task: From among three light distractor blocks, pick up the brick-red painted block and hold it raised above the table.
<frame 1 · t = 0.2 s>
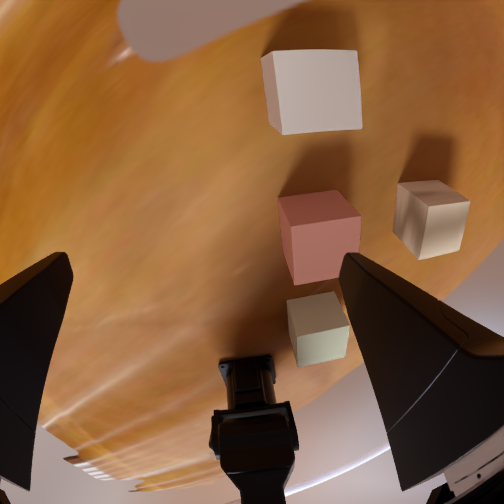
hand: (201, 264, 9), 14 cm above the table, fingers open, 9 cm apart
pale grey block: (298, 87, 19), on the table
ash block: (415, 205, 25), on the table
sage green block: (310, 312, 31), on the table
brick-red block: (308, 220, 25), on the table
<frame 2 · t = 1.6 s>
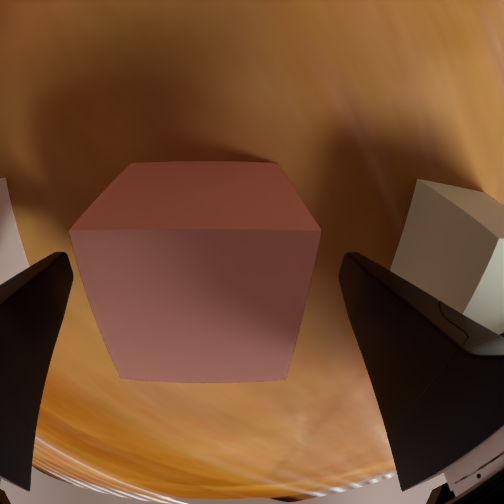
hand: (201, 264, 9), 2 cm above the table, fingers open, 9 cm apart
sage green block: (439, 232, 12), on the table
brick-red block: (203, 226, 11), on the table
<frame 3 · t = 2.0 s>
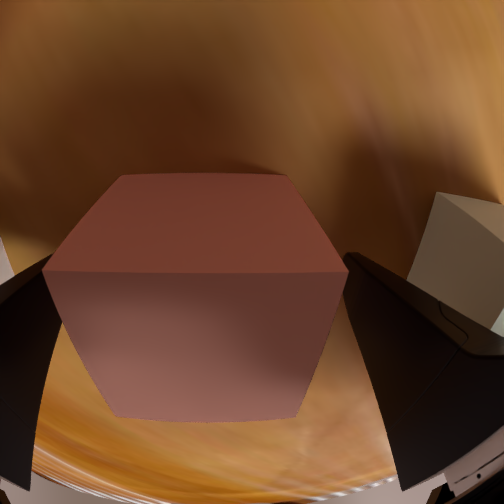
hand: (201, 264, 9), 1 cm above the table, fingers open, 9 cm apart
sage green block: (455, 247, 11), on the table
brick-red block: (202, 245, 10), on the table
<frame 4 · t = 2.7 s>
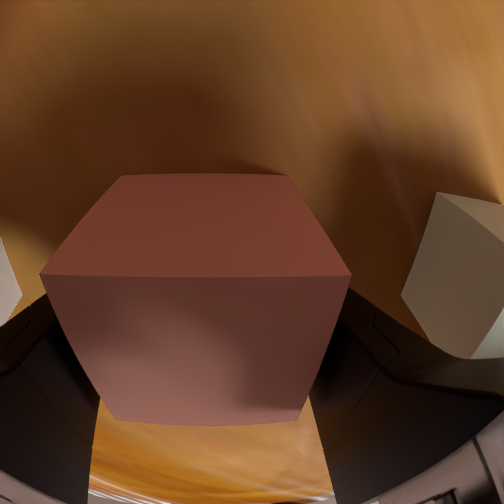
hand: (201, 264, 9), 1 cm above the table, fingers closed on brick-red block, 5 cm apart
sage green block: (455, 247, 11), on the table
brick-red block: (203, 246, 10), on the table, touching gripper
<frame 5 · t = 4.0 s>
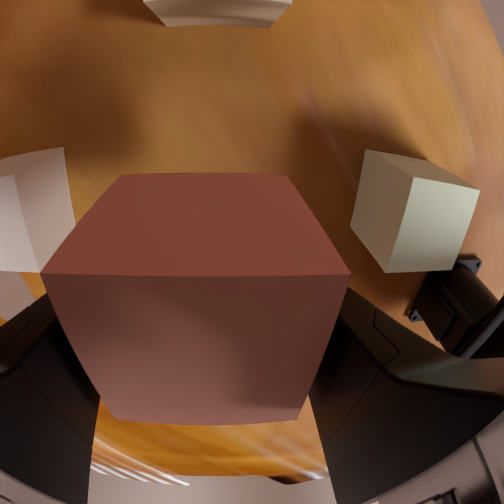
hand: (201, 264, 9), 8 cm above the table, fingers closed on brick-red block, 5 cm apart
pale grey block: (37, 190, 14), on the table
sage green block: (391, 192, 17), on the table
brick-red block: (202, 246, 10), point 7 cm above the table, touching gripper
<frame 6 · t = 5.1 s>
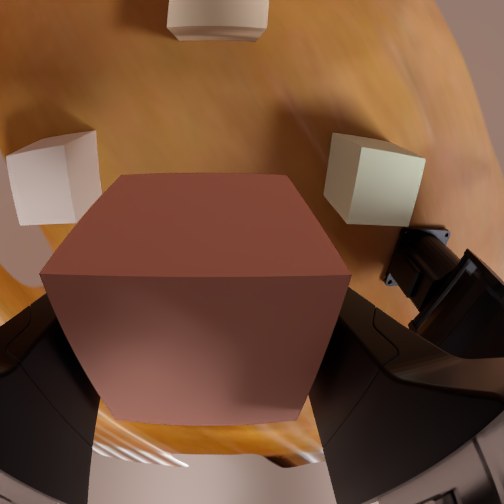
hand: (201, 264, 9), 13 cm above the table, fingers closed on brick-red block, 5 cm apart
pale grey block: (71, 165, 18), on the table
ash block: (219, 8, 14), on the table
sage green block: (357, 167, 21), on the table
brick-red block: (202, 246, 10), point 12 cm above the table, touching gripper
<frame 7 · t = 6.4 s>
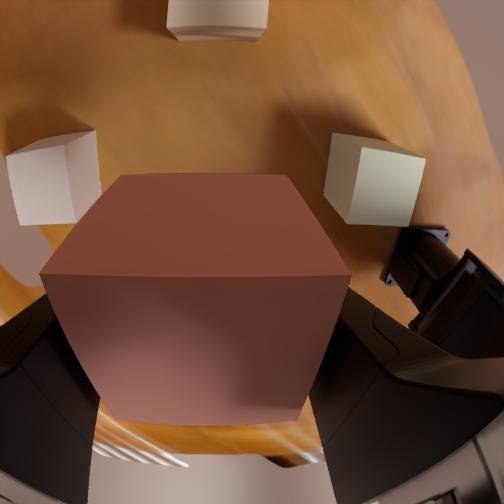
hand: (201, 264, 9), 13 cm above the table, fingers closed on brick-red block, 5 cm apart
pale grey block: (70, 165, 18), on the table
ash block: (219, 8, 14), on the table
sage green block: (357, 167, 21), on the table
brick-red block: (202, 246, 10), point 12 cm above the table, touching gripper
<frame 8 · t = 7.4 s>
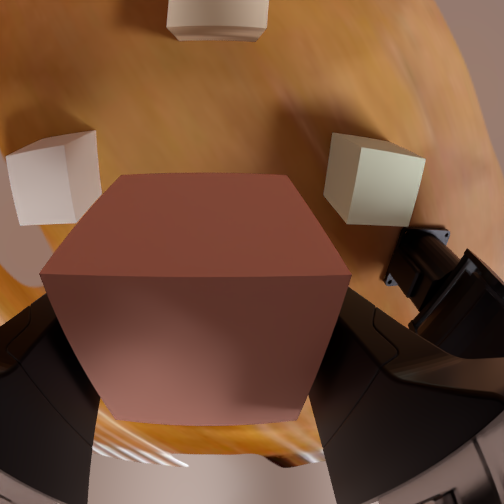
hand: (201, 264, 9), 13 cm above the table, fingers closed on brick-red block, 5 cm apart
pale grey block: (70, 165, 18), on the table
ash block: (219, 8, 14), on the table
sage green block: (357, 167, 21), on the table
brick-red block: (202, 246, 10), point 12 cm above the table, touching gripper
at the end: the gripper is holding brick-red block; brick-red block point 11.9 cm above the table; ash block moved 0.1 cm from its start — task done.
